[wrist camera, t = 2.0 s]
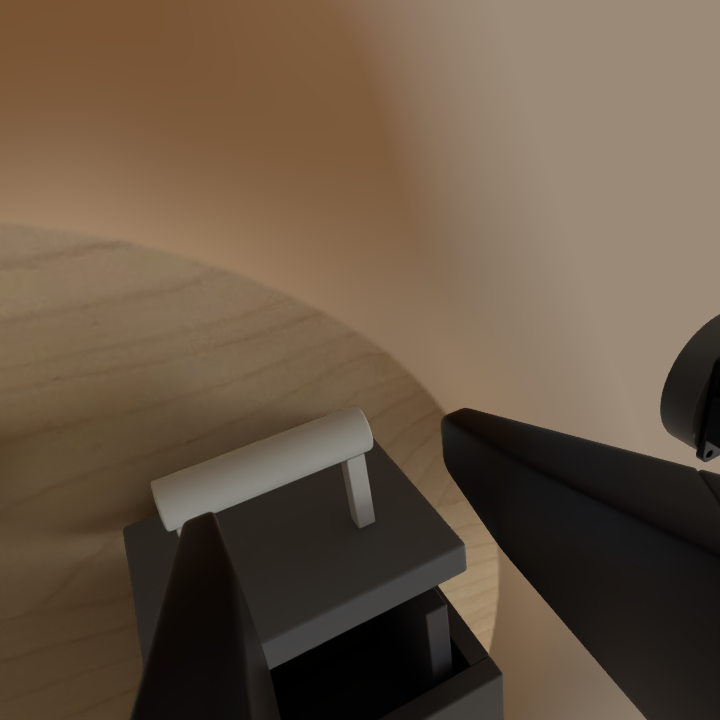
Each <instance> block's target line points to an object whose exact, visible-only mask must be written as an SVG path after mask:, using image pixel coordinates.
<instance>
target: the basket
mask: <svg viewBox="0 0 720 720" xmlns="http://www.w3.org/2000/svg"><path fill="white" fill-rule="evenodd" d="M151 489H152V493H153V497H154V500H155V503H156V506H157V509H158V512H159V513H158V514H156V515H153V516H151V517H148V518H146V519H143V520H141V521H138V522H136V523H133V524H131V525H128V526H125V527H124V528H123V534H124V541H125V548H126V554H127V561H128V568H129V575H130V581H131V588H132V595H133V601H134V608H135V615H136V622H137V628H138V635H139V642H140V648H141V655H142V662H143V669H144V665H145V662H146V658H147V654H148V651H149V647H150V643H151V640H152V636H153V632H154V629H155V625H156V621H157V618H158V614H159V610H160V607H161V603H162V599H163V596H164V592H165V588H166V585H167V581H168V577H169V574H170V570H171V566H172V562H173V559H174V555H175V551H176V548H177V544H178V540H179V537H180V533H181V529H182V526H183V524H184V523H185V522H186V521H187V520H189V519H192V518H194V517H197V516H199V515H201V514H204V513H206V512H213V513H215V515H216V518H217V521H218V523H219V526H220V529H221V531H222V534H223V537H224V540H225V542H226V545H227V548H228V551H229V553H230V556H231V559H232V561H233V564H234V567H235V570H236V573H237V576H238V579H239V582H240V584H241V587H242V590H243V593H244V596H245V599H246V602H247V604H248V607H249V610H250V613H251V616H252V619H253V622H254V625H255V627H256V630H257V633H258V636H259V639H260V642H261V645H262V648H263V651H264V654H265V657H266V660H267V663H268V666H269V670H270V674H271V678H272V682H273V687H274V691H275V696H276V700H277V705H278V709H279V714H280V718H281V720H377V719H379V718H381V717H383V716H384V715H386V714H388V713H390V712H391V711H393V710H395V709H397V708H398V707H400V706H402V705H404V704H406V703H407V702H409V701H411V700H413V699H414V698H416V697H418V696H420V695H421V694H423V693H425V692H427V691H428V690H430V689H432V688H434V687H436V686H437V685H439V684H441V683H443V682H444V681H446V680H448V679H450V678H451V677H453V667H452V657H451V646H450V635H449V624H448V613H447V604H446V603H445V601H444V600H443V599H442V597H441V596H440V595H439V593H438V592H437V590H436V589H435V588H434V587H435V586H437V585H439V584H441V583H443V582H445V581H447V580H449V579H450V578H452V577H454V576H456V575H458V574H460V573H462V572H464V571H465V570H466V554H465V544H464V542H463V541H462V540H461V539H460V538H459V537H458V536H457V534H456V533H455V532H454V531H453V530H452V529H451V527H450V526H449V525H448V524H447V523H446V522H445V520H444V519H443V518H442V517H441V516H440V515H439V514H438V512H437V511H436V510H435V509H434V508H433V507H432V505H431V504H430V503H429V502H428V501H427V500H426V498H425V497H424V496H423V495H422V494H421V493H420V492H419V490H418V489H417V488H416V487H415V486H414V485H413V483H412V482H411V481H410V480H409V479H408V478H407V476H406V475H405V474H404V473H403V472H402V471H401V470H400V468H399V467H398V466H397V465H396V464H395V463H394V461H393V460H392V459H391V458H390V457H389V456H388V454H387V453H386V452H385V451H384V450H383V449H382V448H381V446H380V445H379V444H378V443H377V442H376V441H375V439H374V438H373V437H372V432H371V429H370V426H369V423H368V421H367V419H366V417H365V415H364V414H363V412H362V411H361V409H360V408H359V407H358V406H356V405H352V406H350V407H347V408H344V409H342V410H339V411H336V412H334V413H331V414H328V415H326V416H323V417H321V418H318V419H315V420H313V421H310V422H307V423H305V424H302V425H299V426H297V427H294V428H291V429H289V430H286V431H283V432H281V433H278V434H275V435H273V436H270V437H267V438H265V439H262V440H259V441H257V442H254V443H252V444H249V445H246V446H244V447H241V448H238V449H236V450H233V451H230V452H228V453H225V454H222V455H220V456H217V457H214V458H212V459H209V460H206V461H204V462H201V463H198V464H196V465H193V466H190V467H188V468H185V469H182V470H180V471H177V472H175V473H172V474H169V475H167V476H164V477H161V478H159V479H156V480H153V481H152V482H151Z"/></svg>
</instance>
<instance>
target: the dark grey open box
mask: <svg viewBox="0 0 720 720" xmlns="http://www.w3.org/2000/svg"><path fill="white" fill-rule="evenodd" d="M434 588H435V589H436V590H437V592H438V593H439V595H440V596H441V597H442V599H443V600H444V601H445V603H446V604H447V613H448V624H449V635H450V646H451V657H452V667H453V677H451V678H450V679H448V680H446V681H444V682H443V683H441V684H439V685H437V686H436V687H434V688H432V689H430V690H428V691H427V692H425V693H423V694H421V695H420V696H418V697H416V698H414V699H413V700H411V701H409V702H407V703H406V704H404V705H402V706H400V707H398V708H397V709H395V710H393V711H391V712H390V713H388V714H386V715H384V716H383V717H381V718H379V719H377V720H504V701H503V699H504V698H503V673H502V672H501V671H500V669H499V668H498V666H497V665H496V664H495V663H494V661H493V660H492V659H491V657H490V656H489V654H488V653H487V651H486V650H485V649H484V647H483V646H482V645H481V643H480V642H479V640H478V639H477V638H476V636H475V635H474V634H473V632H472V631H471V630H470V628H469V627H468V626H467V624H466V623H465V622H464V620H463V619H462V618H461V616H460V615H459V614H458V612H457V611H456V609H455V608H454V607H453V605H452V604H451V603H450V601H449V600H448V599H447V597H446V596H445V595H444V593H443V592H442V591H441V589H440V588H439V587H438V585H437V586H435V587H434Z"/></svg>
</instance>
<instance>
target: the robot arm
mask: <svg viewBox="0 0 720 720" xmlns="http://www.w3.org/2000/svg"><path fill="white" fill-rule="evenodd" d="M441 434H442V446H443V457H444V462H445V465H446V468H447V470H448V472H449V473H450V475H451V476H452V478H453V479H454V481H455V482H456V484H457V485H458V487H459V488H460V490H461V491H462V493H463V494H464V496H465V497H466V499H467V500H468V501H469V503H470V504H471V506H472V507H473V509H474V510H475V512H476V513H477V515H478V516H479V518H480V519H481V521H482V522H483V524H484V525H485V526H486V528H487V529H488V531H489V532H490V534H491V535H492V537H493V538H494V539H495V541H496V542H497V544H498V545H499V546H500V548H501V549H502V550H503V552H504V553H505V554H506V555H507V556H508V558H509V559H510V560H511V561H512V563H513V564H514V565H515V566H516V567H517V568H518V569H519V571H520V572H521V573H522V574H523V575H524V577H525V578H526V579H527V580H528V581H529V582H530V584H531V585H532V586H533V587H534V588H535V589H536V591H537V592H538V593H539V594H540V595H541V596H542V598H543V599H544V600H545V601H546V602H547V603H548V605H549V606H550V607H551V608H552V609H553V610H554V612H555V613H556V614H557V615H558V616H559V617H560V619H561V620H562V621H563V622H564V623H565V624H566V626H567V627H568V628H569V629H570V630H571V631H572V633H573V634H574V635H575V636H576V637H577V639H578V640H579V641H580V642H581V643H582V644H583V646H584V647H585V648H586V649H587V650H588V651H589V652H590V654H591V655H592V656H593V657H594V658H595V659H596V661H597V662H598V663H599V664H600V665H601V667H602V668H603V669H604V670H605V671H606V672H607V674H608V675H609V676H610V677H611V678H612V679H613V681H614V682H615V683H616V684H617V685H618V686H619V688H620V689H621V690H622V691H623V692H624V693H625V694H626V696H627V697H628V698H629V699H630V700H631V702H632V703H633V704H634V705H635V706H636V707H637V709H638V710H639V711H640V712H641V713H642V714H643V716H644V717H645V718H646V719H647V720H720V474H716V473H712V472H708V471H705V470H700V471H697V470H696V469H695V468H693V467H689V466H685V465H681V464H678V463H674V462H670V461H666V460H663V459H658V458H655V457H651V456H647V455H644V454H640V453H636V452H632V451H628V450H625V449H621V448H617V447H613V446H609V445H606V444H602V443H598V442H594V441H590V440H586V439H583V438H579V437H575V436H571V435H568V434H564V433H560V432H556V431H553V430H549V429H545V428H541V427H537V426H534V425H530V424H526V423H522V422H518V421H514V420H511V419H507V418H503V417H499V416H495V415H492V414H488V413H484V412H481V411H477V410H473V409H468V408H463V409H460V410H457V411H455V412H452V413H450V414H447V415H445V416H444V417H443V418H442V421H441ZM719 455H720V356H719V357H718V358H717V359H716V360H715V362H714V364H713V368H712V373H711V378H710V383H709V389H708V394H707V399H706V404H705V410H704V415H703V420H702V426H701V431H700V436H699V441H698V447H697V452H696V457H697V458H699V459H700V460H702V461H703V462H708V461H710V460H712V459H714V458H715V457H717V456H719ZM130 720H281V718H280V714H279V709H278V705H277V700H276V696H275V691H274V687H273V682H272V678H271V674H270V670H269V666H268V663H267V660H266V657H265V654H264V651H263V648H262V645H261V642H260V639H259V636H258V633H257V630H256V627H255V625H254V622H253V619H252V616H251V613H250V610H249V607H248V604H247V602H246V599H245V596H244V593H243V590H242V587H241V584H240V582H239V579H238V576H237V573H236V570H235V567H234V564H233V561H232V559H231V556H230V553H229V551H228V548H227V545H226V542H225V540H224V537H223V534H222V531H221V529H220V526H219V523H218V521H217V518H216V515H215V513H213V512H206V513H204V514H201V515H199V516H197V517H194V518H192V519H189V520H187V521H186V522H185V523H184V524H183V526H182V529H181V533H180V537H179V540H178V544H177V548H176V551H175V555H174V559H173V562H172V566H171V570H170V574H169V577H168V581H167V585H166V588H165V592H164V596H163V599H162V603H161V607H160V610H159V614H158V618H157V621H156V625H155V629H154V632H153V636H152V640H151V643H150V647H149V651H148V654H147V658H146V662H145V665H144V669H143V673H142V677H141V680H140V684H139V688H138V691H137V695H136V699H135V702H134V706H133V710H132V713H131V717H130Z"/></svg>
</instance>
